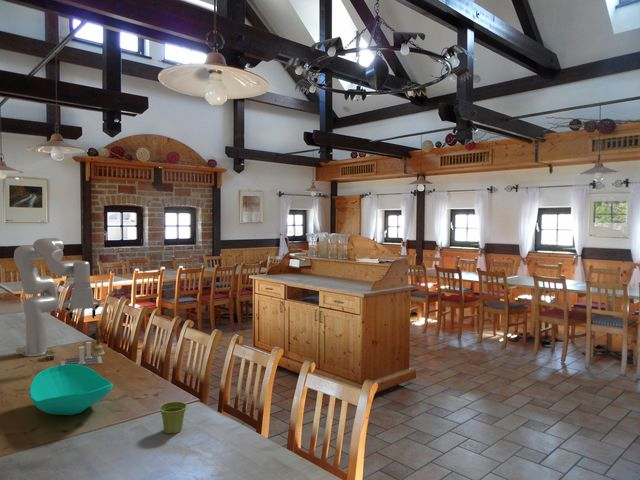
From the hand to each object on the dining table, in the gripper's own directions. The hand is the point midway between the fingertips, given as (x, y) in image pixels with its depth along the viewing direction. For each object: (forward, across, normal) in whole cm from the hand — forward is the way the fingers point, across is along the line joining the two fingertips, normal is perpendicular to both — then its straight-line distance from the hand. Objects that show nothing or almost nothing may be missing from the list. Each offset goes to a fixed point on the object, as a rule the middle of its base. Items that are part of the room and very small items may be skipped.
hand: (82, 318), depth 235 cm
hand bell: (+24, +7, +13) cm, 28 cm away
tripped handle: (+22, -1, -4) cm, 23 cm away
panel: (+24, -1, 0) cm, 24 cm away
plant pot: (+26, +26, -95) cm, 102 cm away
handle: (+22, +2, +4) cm, 23 cm away
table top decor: (+25, -6, -61) cm, 66 cm away
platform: (+24, -15, +14) cm, 32 cm away
